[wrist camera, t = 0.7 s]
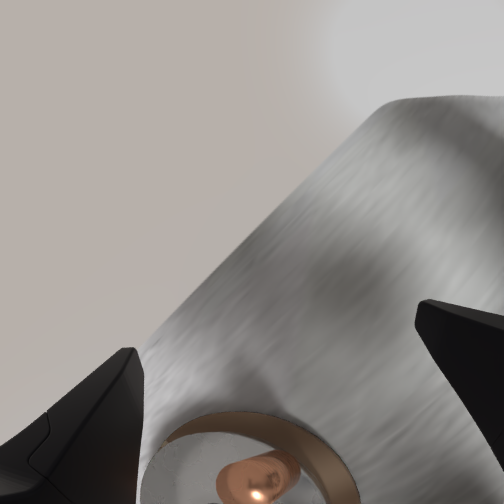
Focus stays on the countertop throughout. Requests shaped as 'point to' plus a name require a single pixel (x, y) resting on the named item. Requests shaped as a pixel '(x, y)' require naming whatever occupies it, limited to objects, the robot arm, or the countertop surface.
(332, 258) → the countertop surface
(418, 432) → the countertop surface
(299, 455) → the wheel base
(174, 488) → the handwheel
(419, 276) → the countertop surface
